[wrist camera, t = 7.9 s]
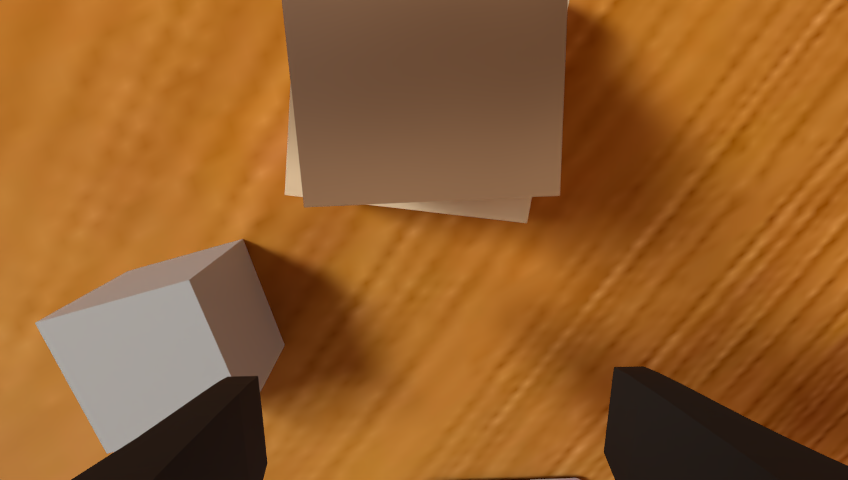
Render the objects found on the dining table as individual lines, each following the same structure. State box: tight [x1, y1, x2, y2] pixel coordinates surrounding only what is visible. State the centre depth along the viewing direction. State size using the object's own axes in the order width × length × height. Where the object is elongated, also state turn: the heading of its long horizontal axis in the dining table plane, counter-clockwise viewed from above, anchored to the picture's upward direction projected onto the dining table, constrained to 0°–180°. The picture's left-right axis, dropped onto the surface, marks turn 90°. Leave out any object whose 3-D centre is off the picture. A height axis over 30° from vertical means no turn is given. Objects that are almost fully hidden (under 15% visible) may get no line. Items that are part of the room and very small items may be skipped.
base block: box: [285, 0, 569, 223], centre depth 16 cm, size 8×8×4 cm
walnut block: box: [282, 0, 568, 207], centre depth 11 cm, size 5×5×6 cm
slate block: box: [35, 239, 285, 454], centre depth 17 cm, size 5×5×5 cm
